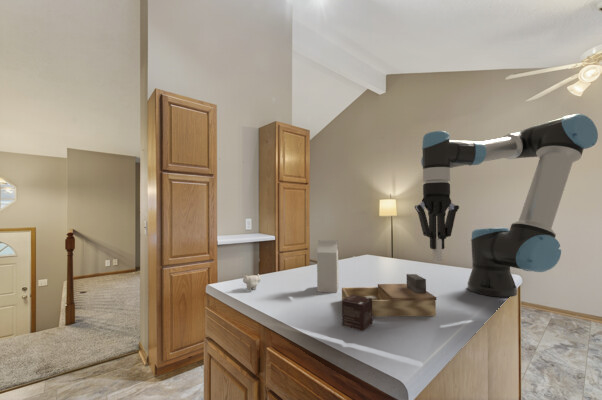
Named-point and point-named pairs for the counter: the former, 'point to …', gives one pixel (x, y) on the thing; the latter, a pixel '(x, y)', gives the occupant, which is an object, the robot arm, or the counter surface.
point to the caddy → (392, 303)
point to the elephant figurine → (251, 281)
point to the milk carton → (327, 266)
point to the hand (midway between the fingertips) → (437, 260)
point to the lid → (408, 290)
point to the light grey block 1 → (372, 297)
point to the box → (357, 312)
